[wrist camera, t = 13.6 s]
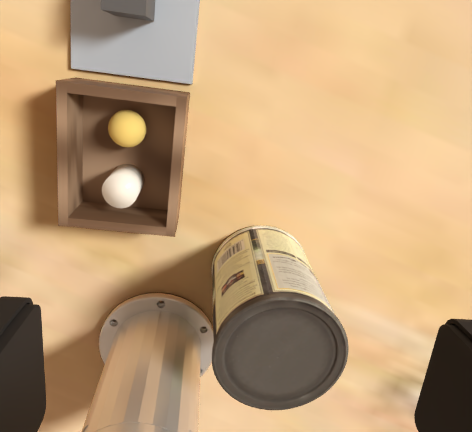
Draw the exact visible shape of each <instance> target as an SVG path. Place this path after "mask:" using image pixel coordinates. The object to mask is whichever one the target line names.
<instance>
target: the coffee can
mask: <svg viewBox="0 0 472 432" xmlns="http://www.w3.org/2000/svg"><path fill="white" fill-rule="evenodd" d="M211 271H212V287H213V339H214V343H213V347H212V366H213V370H214V374H215V376H216V378H217V380H218V382H219V383H220V385H221V386H222V387H223V389H224V390H225V391H226V392H227V393H228V394H229V395H230V396H231V397H233V398H234V399H236V400H237V401H239V402H241V403H243V404H245V405H248V406H251V407H255V408H259V409H265V410H285V409H290V408H295V407H298V406H302V405H305V404H307V403H309V402H311V401H313V400H315V399H317V398H318V397H320V396H321V395H323V394H324V393H326V392H327V391H328V390H329V389H330V388H331V387H332V386H333V385H334V384H335V383H336V381H337V380H338V379H339V377H340V376H341V374H342V372H343V370H344V368H345V365H346V362H347V357H348V340H347V336H346V333H345V330H344V328H343V326H342V324H341V323H340V321H339V319H338V318H337V317H336V316H335V314H334V312H333V310H332V308H331V306H330V304H329V302H328V300H327V298H326V296H325V294H324V292H323V290H322V288H321V286H320V284H319V282H318V280H317V278H316V276H315V274H314V272H313V270H312V268H311V266H310V264H309V262H308V260H307V258H306V255H305V252H304V250H303V248H302V246H301V245H300V243H299V242H298V241H297V240H296V239H295V238H294V237H293V236H292V235H290V234H289V233H287V232H286V231H284V230H281V229H279V228H276V227H271V226H261V225H259V226H251V227H247V228H244V229H241V230H238V231H237V232H235V233H234V234H232V235H231V236H229V237H228V238H227V239H226V240H225V241H224V242H223V243H222V244H221V245H220V247H219V248H218V250H217V251H216V253H215V256H214V258H213V262H212V269H211Z"/></svg>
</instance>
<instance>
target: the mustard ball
mask: <svg viewBox="0 0 472 432" xmlns="http://www.w3.org/2000/svg"><path fill="white" fill-rule="evenodd" d="M108 132H109V135H110V137H111V139H112V140H113V141H114V142H115V143H116V144H118V145H120V146H122V147H134V146H136V145H138V144H139V143H141V142H142V140H143V139H144V137H145V134H146V125H145V122H144V120H143V118H142V117H141V116H140V115H139V114H138V113H136V112H134V111H132V110H121V111H118V112H116V113H115V114H114V115H113V116H112V117H111V119H110V121H109V124H108Z"/></svg>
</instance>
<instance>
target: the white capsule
mask: <svg viewBox="0 0 472 432" xmlns="http://www.w3.org/2000/svg"><path fill="white" fill-rule="evenodd" d="M143 185H144V175H143V173H142V171H141V170H140V169H139V168H138V167H137V166H135V165H133V164H122V165H119V166H118V167H117V168H116V169H115V170H114V171H113V172H112V173H111V174H110V176H109V177H108V178H107V179H106V180H105V182H104V183H103V186H102V195H103V197H104V199H105V201H106V202H107V203H108V204H109V205H111V206H113V207H116V208H126V207H129V206H131V205H132V204H133V203H134V202H135V200H136V199H137V197H138V195H139V193H140V191H141V189H142V187H143Z"/></svg>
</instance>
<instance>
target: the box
mask: <svg viewBox="0 0 472 432" xmlns="http://www.w3.org/2000/svg"><path fill="white" fill-rule="evenodd" d="M189 98H190V93H189V92H181V91H173V90H166V89H158V88H150V87H143V86H135V85H127V84H120V83H112V82H104V81H97V80H89V79H82V78H70V79H64V80H57V81H56V113H57V173H58V225H59V226H69V227H79V228H90V229H100V230H110V231H121V232H131V233H141V234H151V235H162V236H172V237H175V233H176V228H177V223H178V218H179V209H180V198H181V187H182V176H183V165H184V154H185V142H186V131H187V120H188V109H189ZM121 110H132V111H134V112H136V113H138V114H139V115H140V116H141V117H142V118H143V120H144V122H145V125H146V134H145V137H144V139H143V140H142V142H141V143H139V144H138V145H136V146H134V147H122V146H120V145H118V144H116V143H115V142H114V141H113V140H112V139H111V137H110V135H109V132H108V124H109V121H110V119H111V117H112V116H113V115H114V114H115V113H116V112H118V111H121ZM122 164H133V165H135V166H137V167H138V168H139V169H140V170H141V171H142V173H143V175H144V185H143V187H142V189H141V191H140V193H139V195H138V197H137V199H136V200H135V202H134V203H133V204H132V205H131V206H129V207H126V208H116V207H113V206H111V205H109V204H108V203H107V202H106V201H105V199H104V197H103V195H102V186H103V183H104V182H105V180H106V179H107V178H108V177H109V176H110V174H111V173H112V172H113V171H114V170H115V169H116V168H117V167H118V166H119V165H122Z"/></svg>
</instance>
